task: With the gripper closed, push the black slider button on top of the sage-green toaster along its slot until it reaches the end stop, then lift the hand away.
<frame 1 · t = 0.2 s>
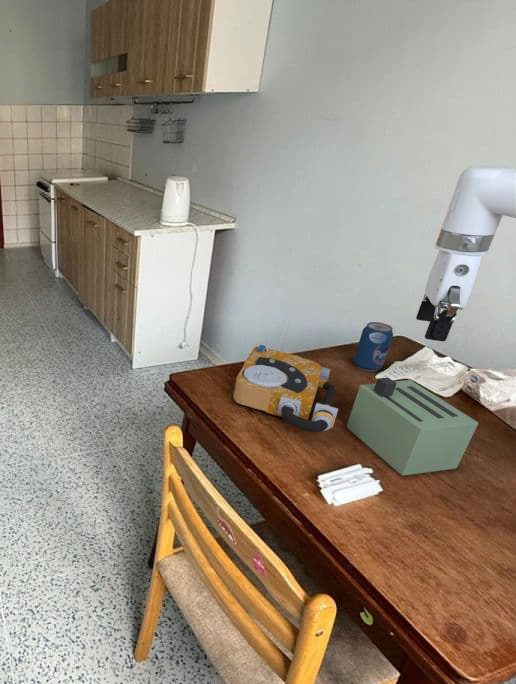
hand: (429, 329, 91), 25 cm above the table, tool pointing down, fingers open, 9 cm apart
toaster: (397, 446, 99), on the table
slider: (384, 386, 96), point 13 cm above the table, slide at 0.0 cm
soda can: (366, 367, 129), on the table
device: (282, 402, 114), on the table
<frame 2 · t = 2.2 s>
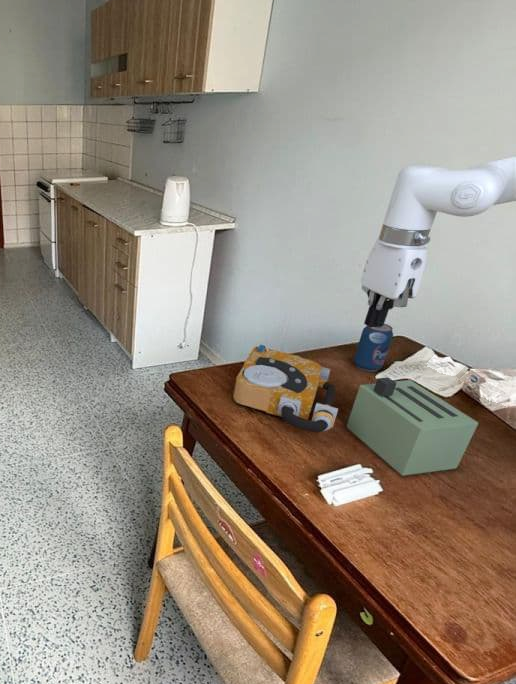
hand: (373, 325, 97), 23 cm above the table, tool pointing down, fingers closed
nothing on the table moved.
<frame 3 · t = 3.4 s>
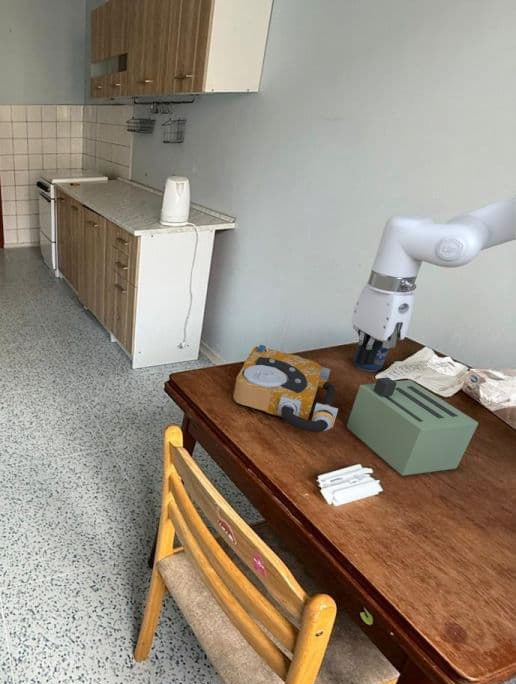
hand: (364, 363, 100), 15 cm above the table, tool pointing down, fingers closed
nothing on the table moved.
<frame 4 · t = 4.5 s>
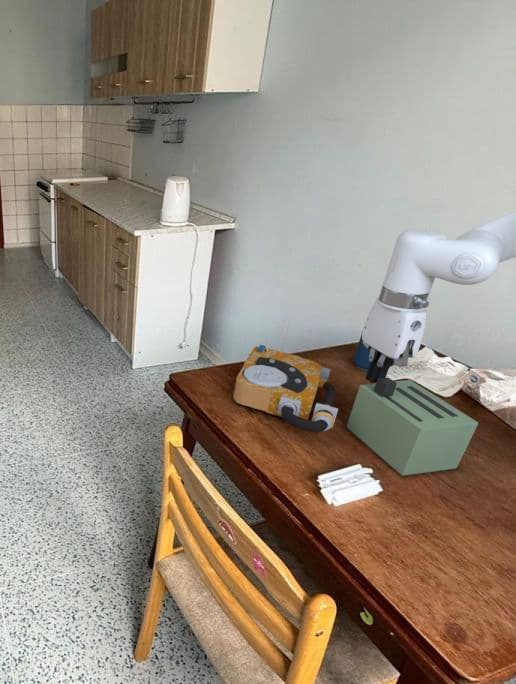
hand: (374, 380, 98), 13 cm above the table, tool pointing down, fingers closed
slider: (385, 387, 96), point 13 cm above the table, slide at 0.1 cm, touching gripper
everything else where it was.
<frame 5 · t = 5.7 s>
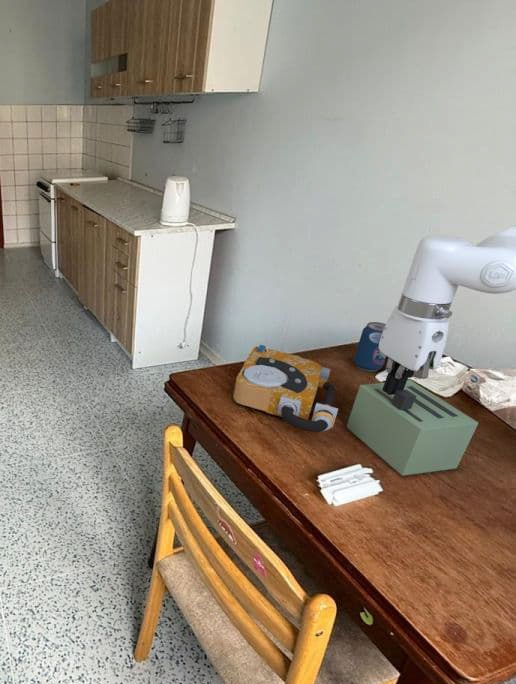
hand: (391, 392, 94), 13 cm above the table, tool pointing down, fingers closed
slider: (403, 399, 91), point 13 cm above the table, slide at 4.8 cm, touching gripper
everything else where it was.
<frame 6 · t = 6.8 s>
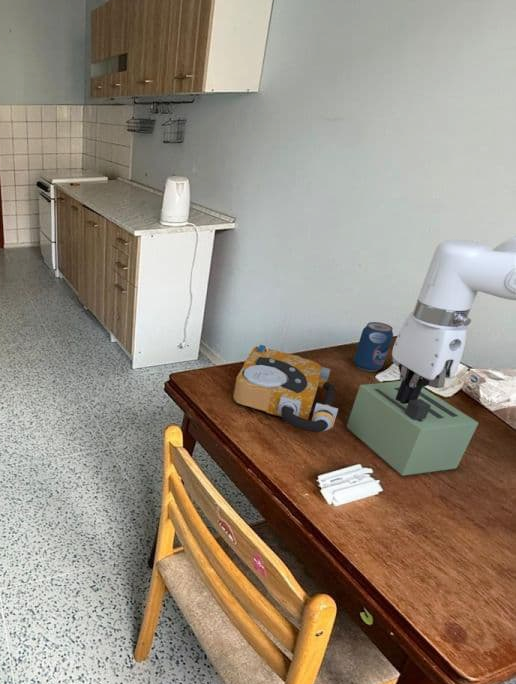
hand: (405, 400, 91), 13 cm above the table, tool pointing down, fingers closed
slider: (417, 409, 88), point 13 cm above the table, slide at 8.2 cm, touching gripper
everything else where it was.
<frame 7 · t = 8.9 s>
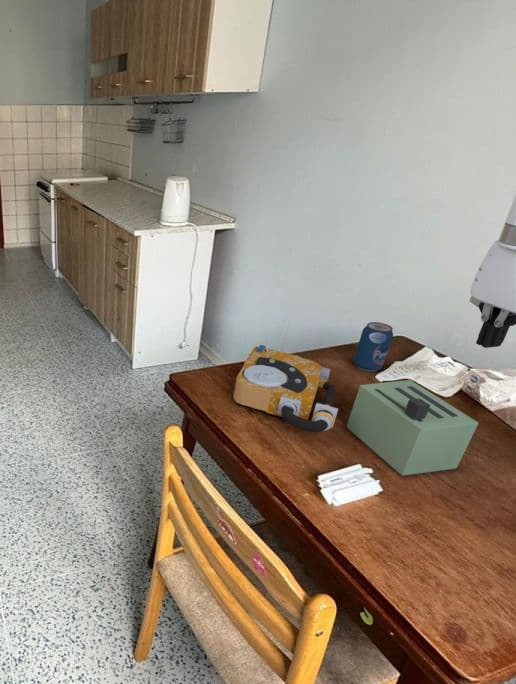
hand: (487, 345, 80), 27 cm above the table, tool pointing down, fingers closed
slider: (417, 408, 89), point 13 cm above the table, slide at 8.1 cm
everything else where it was.
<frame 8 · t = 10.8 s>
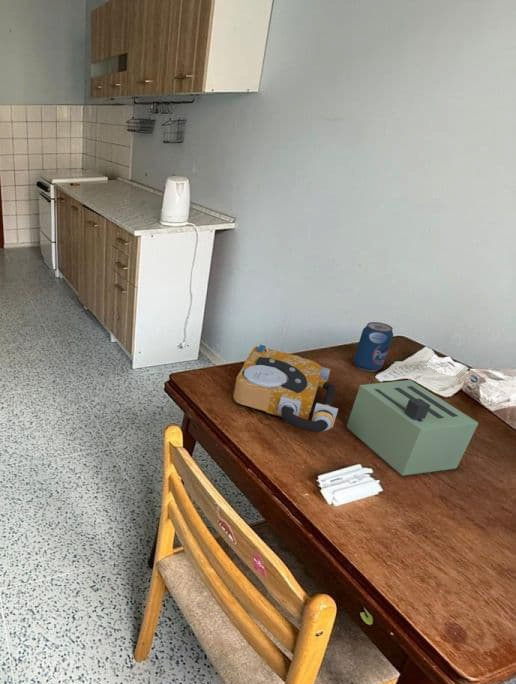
nothing on the table moved.
at the end: slider slide at 8.1 cm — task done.
